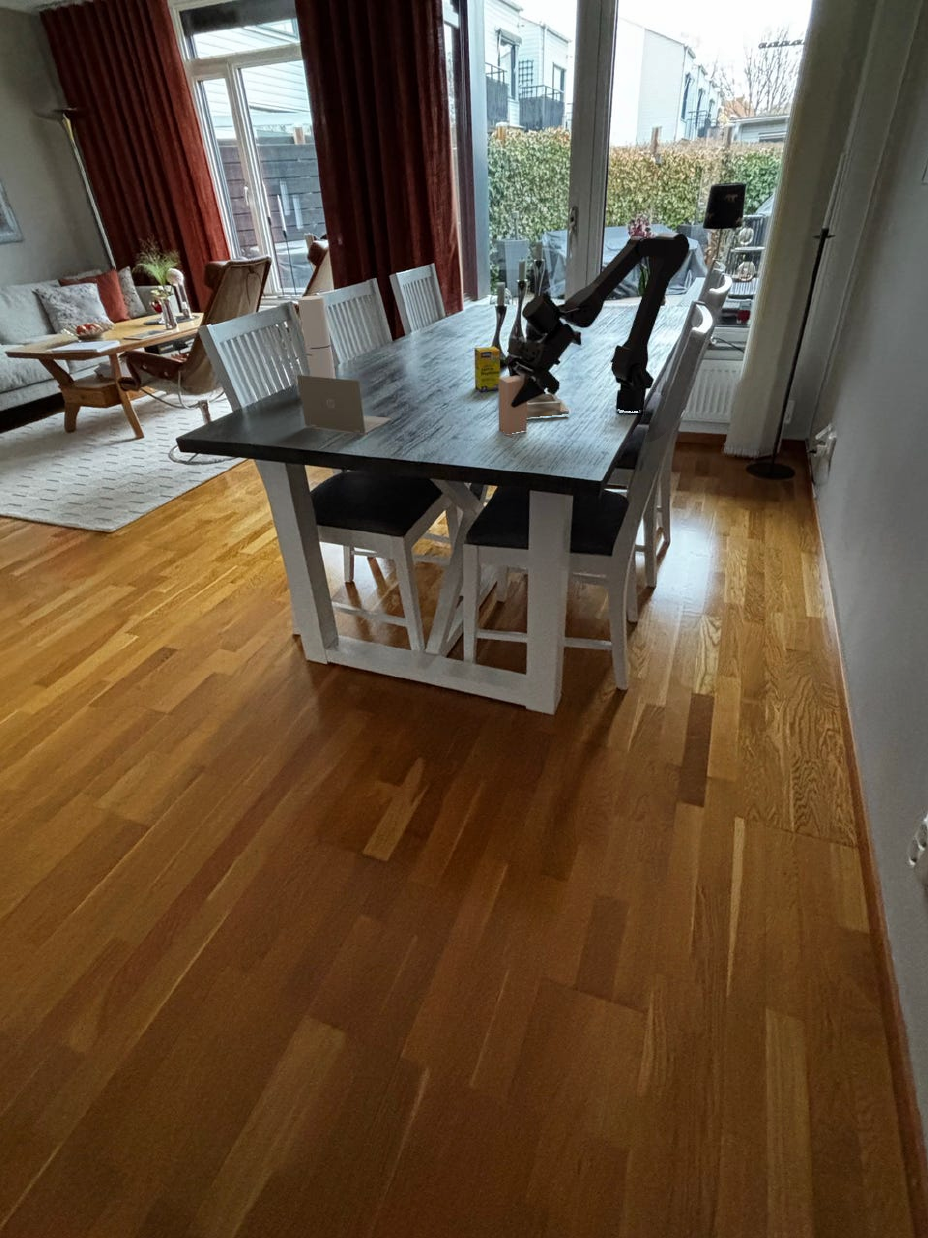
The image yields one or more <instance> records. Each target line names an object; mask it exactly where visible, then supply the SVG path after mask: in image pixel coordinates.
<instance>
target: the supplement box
mask: <svg viewBox="0 0 928 1238" xmlns="http://www.w3.org/2000/svg"><path fill="white" fill-rule="evenodd" d="M499 378H501V351H500V349H499V348H497V347H496V346H488V347H487V346H486V347H474V387H475V388H476V389H477V390H478V391H479V392H480V393H485V391H487V392H493V391H492V390H498V391H499Z"/></svg>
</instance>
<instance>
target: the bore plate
mask: <svg viewBox="0 0 928 1238" xmlns="http://www.w3.org/2000/svg"><path fill="white" fill-rule="evenodd" d="M562 414H569V415H570V411H569V408H568V407H567V406H566V405H565V403H564V401H563V400H562V399H561V398H559V397H557V394H555V395H552V394H550V393H549V392H546V394H542V395H540V396H538V397H535V398H533V399H531V400H529V401H527V418H530V417H540V416H552V415H562Z"/></svg>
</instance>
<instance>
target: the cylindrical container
mask: <svg viewBox="0 0 928 1238" xmlns="http://www.w3.org/2000/svg"><path fill="white" fill-rule="evenodd" d="M325 303H326V302H325V296H323V295H306V296H305V295H304V296H300V297H298V298H297V304H298V309H299V315H300V322H301V328H302V334H303V339H304V340H303V341H304V345H305V350H306V351H305V352H306V358H307V364H308V368H309V369H308V371H309V374H310V375H309V376H312V377H323V378H333V379H337V377H336V372H335V371H336V370H335V365H334V364H335V363H334V357H333V351H332V344H331V336H330V329H329V323H328V322H329V321H328V317H327V309H326V304H325Z"/></svg>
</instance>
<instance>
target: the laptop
mask: <svg viewBox="0 0 928 1238" xmlns="http://www.w3.org/2000/svg"><path fill="white" fill-rule="evenodd" d="M296 377H297V384H298V389H299V395H300V402H301V406H302V407H301V408H302V413H303V419H304V423H305V426H306V428H308V429H314V430H315V429H316V430H324V431H329V432H330V431H331V432H338V433H345V434H353V435H361V436H367V435H369V434H370V433H372V432H374V431H376V430H377V429H378V428H381V427H382V426H383V425H385V424H387V423H388V422H390V421H391V420H392V418H390V417H382V416H375V415H374V416H373V415H366V414H364V411H363V404H362V395H361V387H360V381H359V380H353V379H352V380H350V379H345V378H344V379H343V378H341V379H340V378H336V379H333V378H323V377H312V376H310V375H302V374H301V375H299V374H297V375H296Z"/></svg>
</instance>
